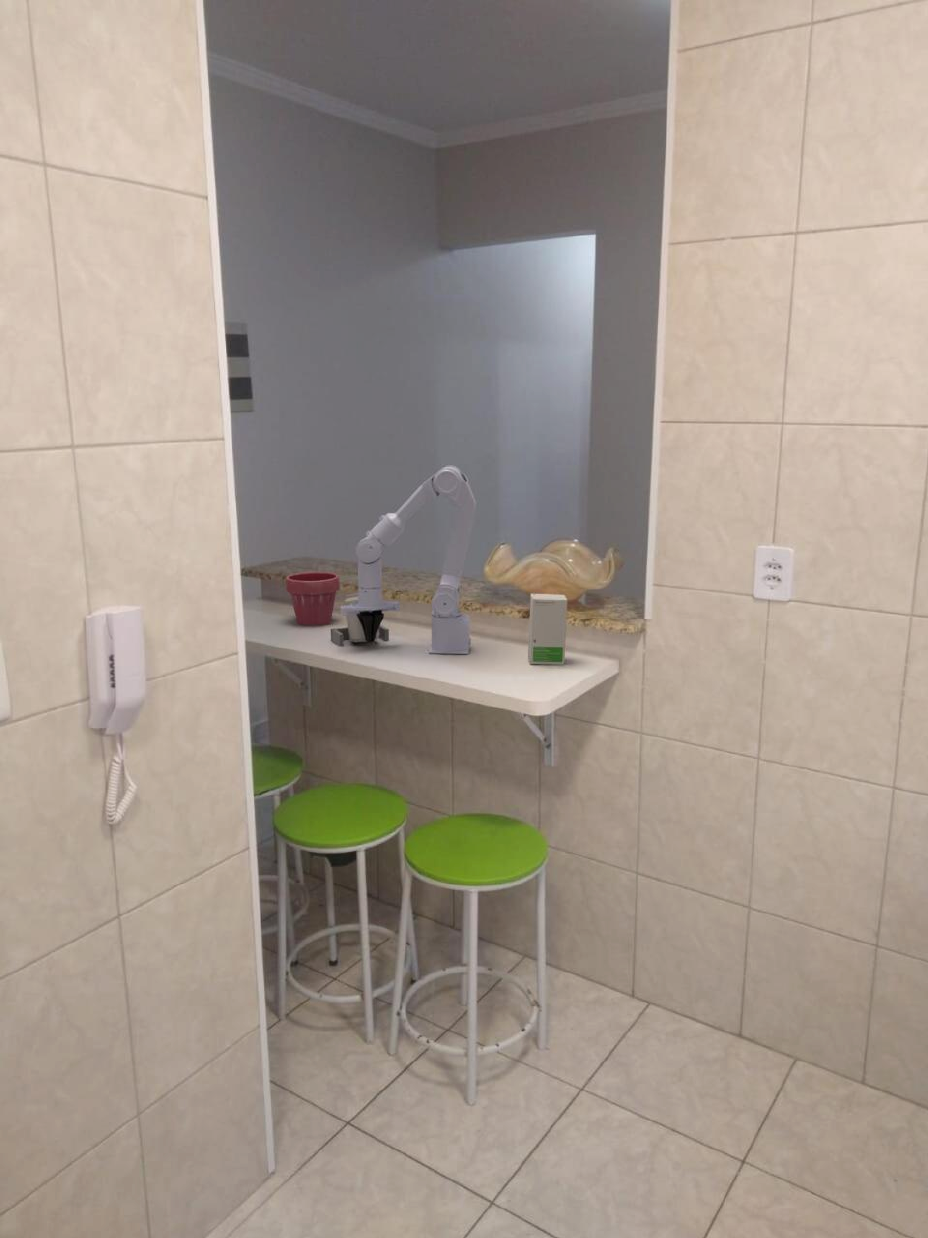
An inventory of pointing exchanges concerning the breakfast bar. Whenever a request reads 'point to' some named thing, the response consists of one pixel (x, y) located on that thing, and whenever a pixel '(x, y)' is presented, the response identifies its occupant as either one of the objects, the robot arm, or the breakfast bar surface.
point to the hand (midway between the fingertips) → (370, 641)
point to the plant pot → (313, 596)
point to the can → (355, 622)
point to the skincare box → (547, 629)
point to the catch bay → (342, 634)
